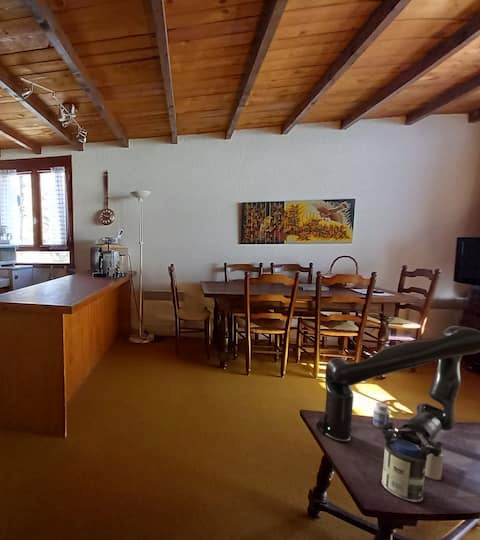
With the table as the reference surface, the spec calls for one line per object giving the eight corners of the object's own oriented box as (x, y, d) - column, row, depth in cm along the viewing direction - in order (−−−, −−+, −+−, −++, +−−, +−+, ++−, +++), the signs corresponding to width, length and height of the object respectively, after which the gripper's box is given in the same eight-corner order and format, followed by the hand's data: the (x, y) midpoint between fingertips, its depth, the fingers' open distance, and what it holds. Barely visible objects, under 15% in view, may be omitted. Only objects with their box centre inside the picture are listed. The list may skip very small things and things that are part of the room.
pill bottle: (382, 422, 139) (384, 402, 138) (391, 429, 134) (393, 408, 133) (369, 421, 140) (371, 401, 139) (378, 428, 135) (380, 407, 134)
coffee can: (417, 485, 103) (421, 446, 102) (427, 507, 95) (432, 465, 93) (378, 473, 109) (381, 436, 107) (384, 493, 100) (388, 453, 99)
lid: (419, 451, 99) (420, 446, 99) (414, 458, 96) (415, 453, 96) (397, 442, 104) (397, 437, 104) (391, 448, 101) (391, 442, 101)
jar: (423, 476, 107) (426, 448, 106) (417, 466, 112) (419, 439, 111) (444, 482, 105) (447, 453, 104) (436, 471, 110) (439, 444, 109)
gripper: (447, 451, 102) (432, 470, 94) (393, 429, 114) (375, 444, 106) (450, 430, 101) (435, 447, 93) (395, 410, 113) (377, 423, 105)
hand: (403, 445), depth 99 cm, fingers open, 8 cm apart
